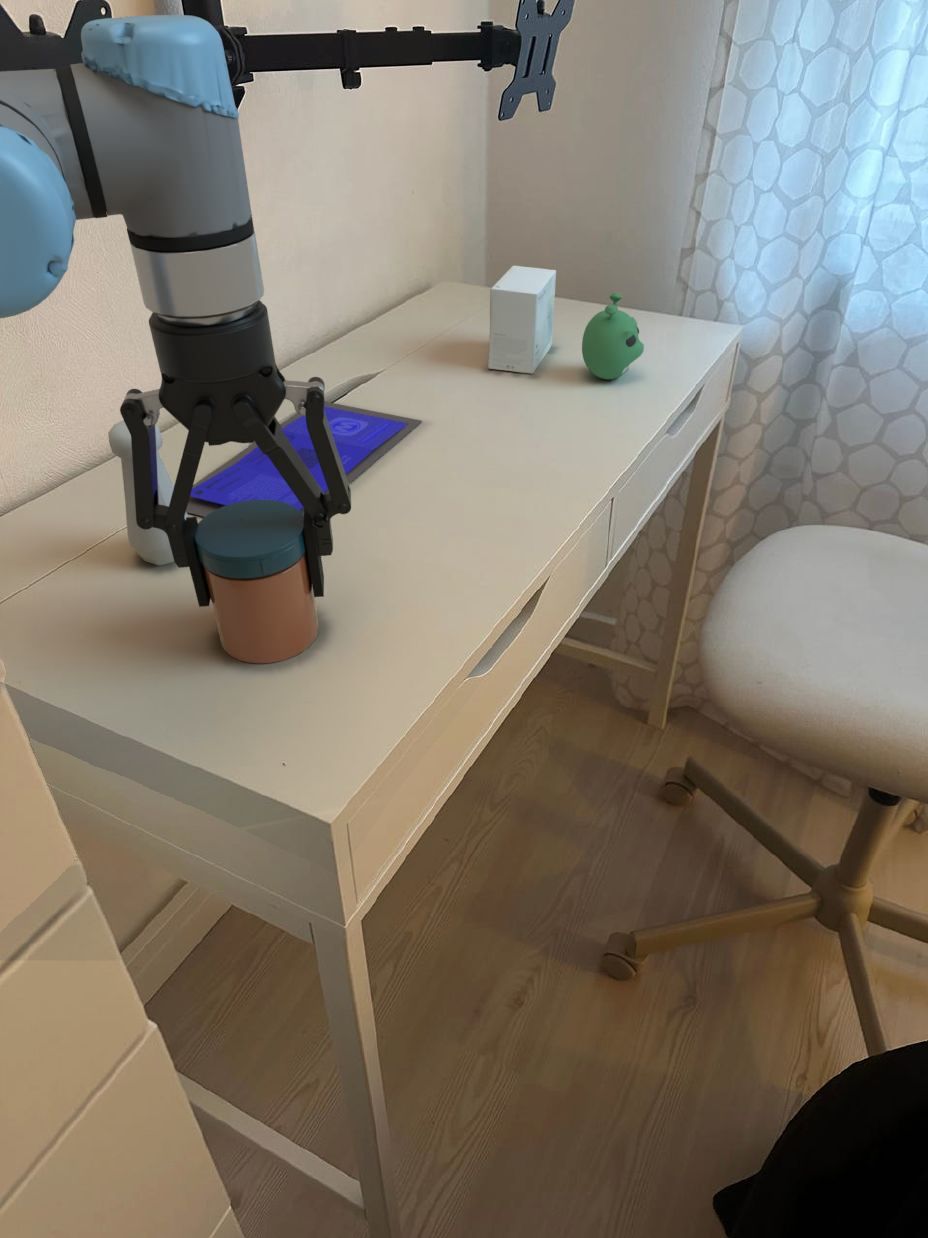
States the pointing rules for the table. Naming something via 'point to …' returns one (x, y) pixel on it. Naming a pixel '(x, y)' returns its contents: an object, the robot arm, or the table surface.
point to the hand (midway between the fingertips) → (262, 591)
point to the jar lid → (250, 538)
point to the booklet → (258, 478)
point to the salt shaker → (144, 542)
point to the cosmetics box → (521, 319)
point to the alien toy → (611, 342)
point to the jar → (265, 613)
